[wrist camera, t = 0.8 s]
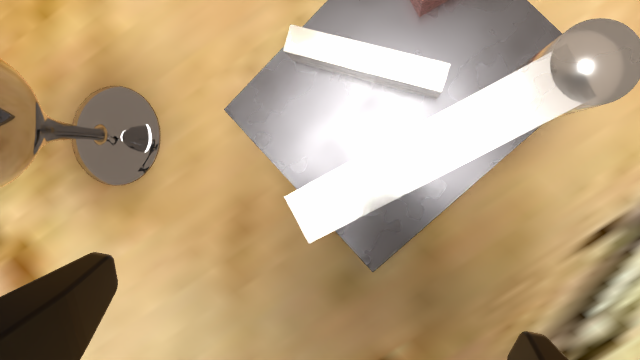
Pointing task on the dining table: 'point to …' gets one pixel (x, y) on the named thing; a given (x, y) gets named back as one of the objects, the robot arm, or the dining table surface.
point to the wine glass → (78, 131)
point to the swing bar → (477, 124)
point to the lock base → (384, 95)
